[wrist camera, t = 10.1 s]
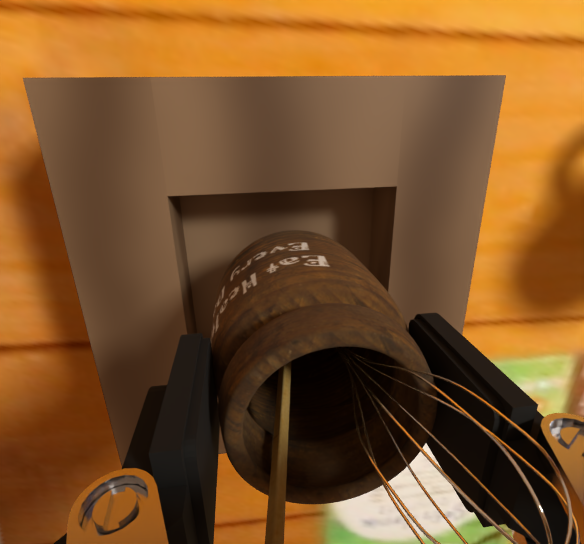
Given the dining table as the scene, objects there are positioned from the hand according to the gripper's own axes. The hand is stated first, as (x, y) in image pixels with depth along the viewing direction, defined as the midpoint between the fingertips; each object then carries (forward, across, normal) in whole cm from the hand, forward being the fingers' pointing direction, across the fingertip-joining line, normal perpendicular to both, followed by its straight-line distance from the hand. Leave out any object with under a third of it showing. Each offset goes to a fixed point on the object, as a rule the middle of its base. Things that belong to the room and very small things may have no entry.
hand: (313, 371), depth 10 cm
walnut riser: (+11, 0, 0) cm, 11 cm away
